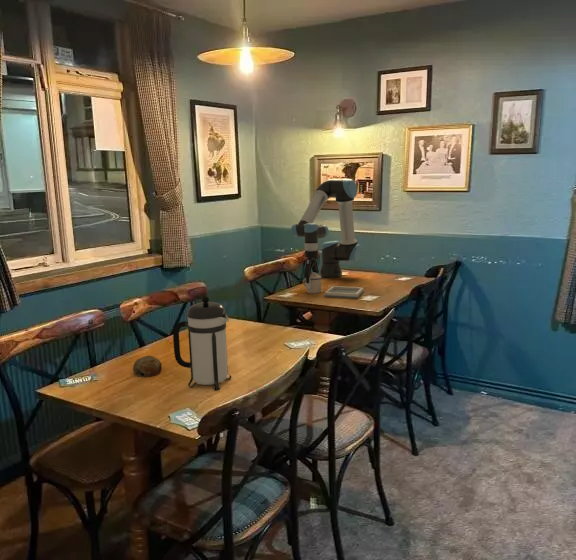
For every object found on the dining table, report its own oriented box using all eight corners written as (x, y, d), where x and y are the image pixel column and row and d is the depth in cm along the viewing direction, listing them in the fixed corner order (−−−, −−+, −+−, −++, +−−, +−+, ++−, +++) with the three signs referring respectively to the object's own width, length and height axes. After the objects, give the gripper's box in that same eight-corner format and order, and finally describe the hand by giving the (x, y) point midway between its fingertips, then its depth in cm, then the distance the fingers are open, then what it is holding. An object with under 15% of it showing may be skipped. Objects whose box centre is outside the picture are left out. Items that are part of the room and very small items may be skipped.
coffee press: (224, 371, 189) (220, 288, 183) (238, 387, 174) (234, 298, 168) (175, 379, 182) (169, 294, 176) (186, 396, 167) (179, 304, 162)
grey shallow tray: (332, 290, 313) (332, 286, 312) (364, 291, 306) (364, 287, 306) (324, 296, 297) (324, 292, 296) (357, 298, 290) (357, 294, 290)
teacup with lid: (324, 291, 310) (324, 271, 308) (316, 294, 303) (316, 274, 301) (307, 289, 317) (307, 270, 315) (299, 292, 310) (298, 272, 307)
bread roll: (131, 384, 188) (125, 369, 183) (142, 363, 196) (136, 348, 191) (158, 386, 186) (152, 370, 181) (167, 364, 194) (162, 349, 189)
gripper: (311, 247, 318) (311, 281, 322) (298, 253, 295) (298, 290, 299) (323, 247, 315) (323, 282, 319) (311, 253, 292) (311, 290, 296)
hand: (311, 286), depth 309 cm, fingers open, 13 cm apart
